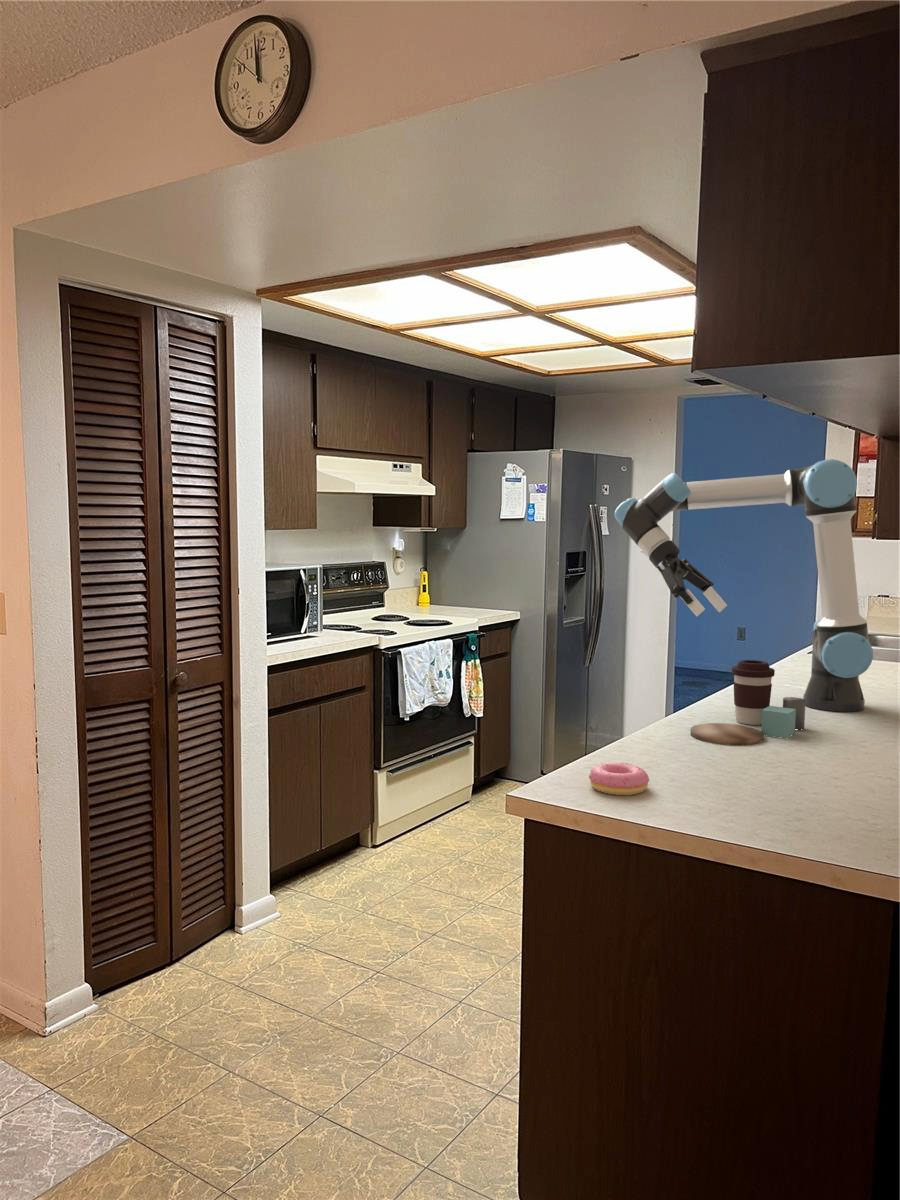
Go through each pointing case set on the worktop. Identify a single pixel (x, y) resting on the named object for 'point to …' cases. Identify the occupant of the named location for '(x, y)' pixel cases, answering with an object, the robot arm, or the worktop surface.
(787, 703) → the gray cylinder
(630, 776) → the doughnut
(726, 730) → the walnut board
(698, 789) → the worktop surface
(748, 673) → the coffee cup
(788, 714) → the teal block
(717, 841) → the worktop surface
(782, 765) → the worktop surface
